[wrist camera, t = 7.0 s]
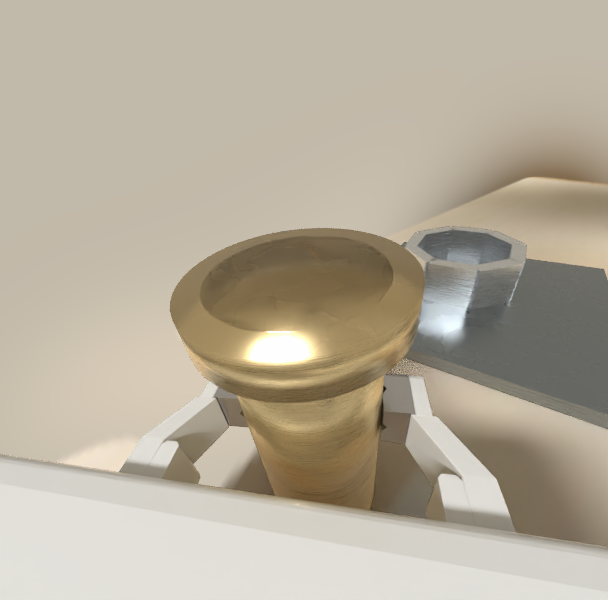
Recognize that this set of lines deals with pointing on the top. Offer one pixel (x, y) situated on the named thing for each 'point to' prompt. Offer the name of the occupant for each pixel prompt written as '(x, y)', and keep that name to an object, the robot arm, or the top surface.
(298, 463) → the brass fitting
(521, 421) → the top surface
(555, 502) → the top surface
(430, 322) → the flange base
